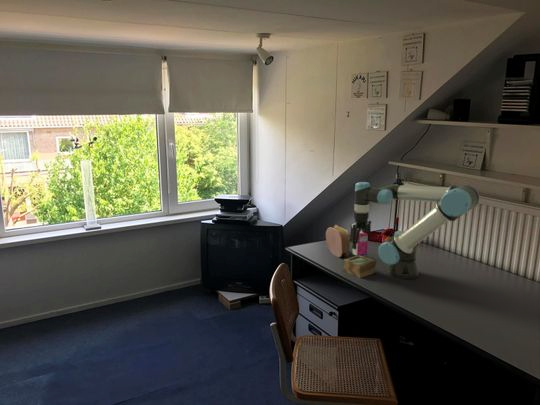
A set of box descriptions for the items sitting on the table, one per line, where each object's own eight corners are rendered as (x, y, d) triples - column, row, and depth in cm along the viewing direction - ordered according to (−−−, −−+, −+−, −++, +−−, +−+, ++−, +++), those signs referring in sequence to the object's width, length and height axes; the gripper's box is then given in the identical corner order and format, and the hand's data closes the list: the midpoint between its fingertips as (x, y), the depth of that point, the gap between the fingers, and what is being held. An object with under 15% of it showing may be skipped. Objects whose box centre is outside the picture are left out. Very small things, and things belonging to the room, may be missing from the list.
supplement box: (351, 252, 238) (353, 232, 236) (360, 251, 241) (362, 231, 238) (358, 256, 233) (359, 235, 231) (367, 254, 236) (368, 234, 233)
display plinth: (375, 272, 238) (375, 260, 237) (359, 278, 231) (360, 265, 230) (358, 266, 248) (359, 255, 246) (343, 271, 241) (343, 259, 239)
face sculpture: (351, 258, 260) (352, 231, 257) (341, 260, 258) (342, 232, 254) (332, 248, 278) (333, 223, 274) (323, 250, 275) (323, 224, 271)
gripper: (368, 207, 240) (366, 247, 246) (343, 212, 229) (341, 254, 234) (379, 210, 234) (377, 251, 240) (353, 215, 223) (352, 258, 229)
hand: (359, 253), depth 237 cm, fingers closed on supplement box, 6 cm apart
